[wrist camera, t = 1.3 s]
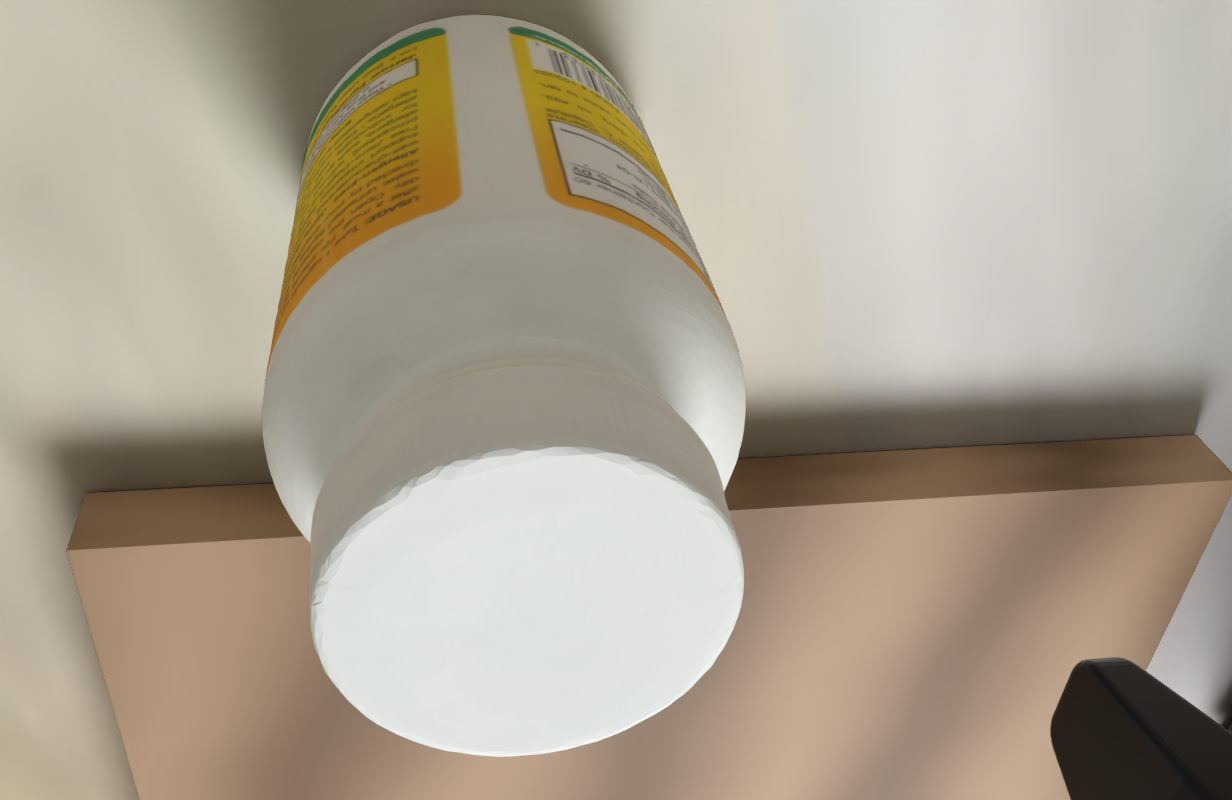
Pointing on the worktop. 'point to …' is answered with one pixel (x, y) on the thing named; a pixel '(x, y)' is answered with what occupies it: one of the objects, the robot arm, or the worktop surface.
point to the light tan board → (744, 670)
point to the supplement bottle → (502, 399)
